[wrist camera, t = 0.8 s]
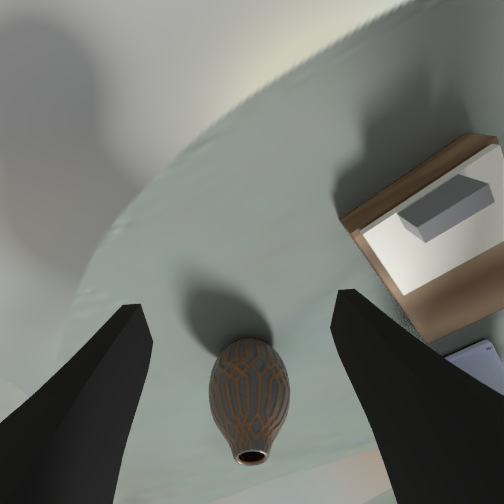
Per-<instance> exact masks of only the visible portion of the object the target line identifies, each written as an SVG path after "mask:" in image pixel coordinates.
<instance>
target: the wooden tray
mask: <svg viewBox="0 0 504 504" xmlns="http://www.w3.org/2000/svg"><path fill="white" fill-rule="evenodd" d="M491 144H497V145H499V143H498V139H497V137H495V136H487V135H479V134H471V133H465V134H464V135H462V136H461V137H459V138H458V139H456V140H455V141H453V142H452V143H450V144H449V145H448V146H446V147H445V148H443V149H442V150H440V151H439V152H437V153H436V154H435V155H433V156H432V157H430V158H429V159H427V160H426V161H424V162H423V163H422V164H420V165H419V166H417V167H416V168H414V169H413V170H411V171H410V172H409V173H407V174H406V175H404V176H403V177H401V178H400V179H398V180H397V181H396V182H394V183H393V184H391V185H390V186H388V187H387V188H385V189H384V190H382V191H381V192H380V193H378V194H377V195H375V196H374V197H372V198H371V199H369V200H368V201H367V202H365V203H364V204H362V205H361V206H359V207H358V208H356V209H355V210H354V211H352V212H351V213H349V214H348V215H346V216H345V217H343V218H342V219H341V220H340V222H341V223H342V225H343V226H344V228H345V229H346V230H347V232H348V233H349V235H350V236H351V238H352V239H353V240H354V242H355V243H356V245H357V246H358V248H359V249H360V250H361V252H362V253H363V255H364V256H365V257H366V259H367V260H368V262H369V263H370V265H371V266H372V267H373V269H374V270H375V272H376V273H377V275H378V276H379V277H380V279H381V280H382V282H383V283H384V285H385V286H386V287H387V289H388V290H389V292H390V293H391V294H392V296H393V297H394V299H395V300H396V302H397V303H398V304H399V306H400V307H401V309H402V310H403V312H404V313H405V314H406V316H407V317H408V319H409V320H410V322H411V323H412V324H413V326H414V327H415V328H416V330H417V331H418V332H419V333H420V335H421V336H422V337H423V339H424V340H425V341H426V342H427V344H429V343H431V342H433V341H435V340H437V339H439V338H442V337H444V336H446V335H448V334H450V333H452V332H454V331H456V330H458V329H460V328H463V327H465V326H467V325H469V324H471V323H473V322H475V321H477V320H479V319H482V318H484V317H486V316H488V315H490V314H492V313H494V312H496V311H498V310H501V309H503V308H504V241H503V242H501V243H499V244H497V245H496V246H494V247H492V248H490V249H488V250H486V251H485V252H483V253H481V254H479V255H477V256H475V257H474V258H472V259H470V260H468V261H466V262H464V263H463V264H461V265H459V266H457V267H455V268H453V269H452V270H450V271H448V272H446V273H444V274H442V275H441V276H439V277H437V278H435V279H433V280H431V281H430V282H428V283H426V284H424V285H422V286H421V287H419V288H417V289H415V290H413V291H411V292H410V293H408V294H406V295H403V294H402V293H401V292H400V290H399V289H398V287H397V286H396V284H395V283H394V281H393V280H392V279H391V277H390V276H389V274H388V273H387V271H386V270H385V268H384V267H383V265H382V264H381V262H380V261H379V259H378V258H377V256H376V255H375V253H374V252H373V250H372V249H371V247H370V246H369V244H368V243H367V241H366V240H365V238H364V237H363V235H362V234H361V232H360V230H362V229H363V228H365V227H366V226H368V225H369V224H371V223H372V222H374V221H375V220H377V219H378V218H380V217H381V216H383V215H384V214H386V213H387V212H389V211H391V210H392V209H394V208H395V207H397V206H398V205H400V204H401V203H403V202H404V201H406V200H407V199H409V198H410V197H412V196H413V195H415V194H416V193H418V192H419V191H421V190H422V189H424V188H425V187H427V186H428V185H430V184H431V183H433V182H434V181H436V180H438V179H439V178H441V177H442V176H444V175H445V174H447V173H448V172H450V171H451V170H453V169H454V168H456V167H457V166H459V165H460V164H462V163H463V162H465V161H466V160H468V159H469V158H471V157H472V156H474V155H475V154H477V153H478V152H480V151H481V150H483V149H484V148H486V147H488V146H489V145H491Z"/></svg>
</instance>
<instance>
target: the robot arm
mask: <svg viewBox="0 0 504 504" xmlns="http://www.w3.org/2000/svg"><path fill="white" fill-rule="evenodd" d="M330 329H331V333H332V336H333V339H334V342H335V345H336V348H337V351H338V354H339V357H340V359H341V361H342V363H343V366H344V368H345V370H346V372H347V374H348V377H349V379H350V381H351V383H352V385H353V388H354V390H355V392H356V394H357V396H358V398H359V401H360V403H361V405H362V407H363V409H364V412H365V414H366V416H367V418H368V421H369V423H370V426H371V428H372V431H373V433H374V436H375V439H376V442H377V445H378V448H379V450H380V453H381V456H382V459H383V461H384V464H385V467H386V470H387V473H388V476H389V479H390V482H391V485H392V488H393V491H394V494H395V497H396V500H397V504H504V366H503V364H502V362H501V360H500V358H499V356H498V354H497V352H496V350H495V348H494V346H493V344H492V343H491V342H490V341H489V340H483V341H481V342H478V343H476V344H474V345H472V346H469V347H467V348H465V349H463V350H461V351H458V352H456V353H454V354H452V355H449V356H447V357H445V358H444V357H442V356H441V355H439V354H438V353H436V352H435V351H434V350H432V349H431V348H429V347H428V346H427V345H425V344H424V343H422V342H421V341H420V340H418V339H417V338H416V337H414V336H413V335H412V334H410V333H409V332H408V331H406V330H405V329H404V328H403V327H401V326H400V325H399V324H397V323H396V322H395V321H394V320H392V319H391V318H390V317H389V316H387V315H386V314H385V313H384V312H382V311H381V310H380V309H379V308H378V307H376V306H375V305H374V304H373V303H371V302H370V301H369V300H368V299H367V298H365V297H364V296H363V295H362V294H360V293H359V292H358V291H356V290H355V289H346V290H338V294H337V299H336V303H335V308H334V312H333V317H332V321H331V326H330ZM152 346H153V340H152V337H151V334H150V331H149V328H148V325H147V322H146V319H145V316H144V313H143V310H142V307H141V304H129V305H122V306H121V307H120V308H119V309H118V310H117V311H116V312H115V314H114V315H113V316H112V317H111V318H110V319H109V320H108V321H107V322H106V323H105V324H104V325H103V326H102V327H101V328H100V329H99V330H98V331H97V332H96V334H95V335H94V336H93V337H92V338H91V339H90V340H89V341H88V342H87V343H86V344H85V345H84V346H83V347H82V348H81V349H80V350H79V351H78V352H77V353H76V354H75V355H74V356H73V357H72V358H71V359H70V360H69V361H68V362H67V363H66V364H65V365H64V366H63V367H62V368H61V369H60V370H59V371H58V372H57V373H56V374H55V375H54V376H52V377H51V378H50V379H49V380H48V381H47V382H46V383H45V384H44V385H43V386H42V387H41V388H40V389H39V390H38V391H37V392H35V394H33V395H32V396H31V397H30V398H29V399H28V400H26V401H25V402H24V403H23V404H22V405H21V406H20V407H18V408H17V409H16V410H15V411H14V412H13V413H11V414H10V415H9V416H8V417H7V418H5V419H4V420H3V421H2V422H1V423H0V504H113V499H114V494H115V490H116V485H117V480H118V476H119V471H120V466H121V462H122V457H123V453H124V450H125V446H126V442H127V438H128V435H129V432H130V429H131V425H132V422H133V419H134V416H135V412H136V409H137V406H138V403H139V399H140V396H141V393H142V389H143V386H144V383H145V379H146V376H147V373H148V369H149V363H150V358H151V352H152Z"/></svg>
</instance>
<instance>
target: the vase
mask: <svg viewBox="0 0 504 504" xmlns="http://www.w3.org/2000/svg"><path fill="white" fill-rule="evenodd" d="M209 402H210V408H211V412H212V416H213V419H214V421H215V423H216V425H217V427H218V428H219V430H220V432H221V433H222V435H223V436H224V438H225V439H226V440H227V442H228V444H229V446H230V448H231V450H232V453H233V457H234V459H235V461H236V462H237V463H239V464H241V465H246V466H254V465H259V464H262V463H264V462H265V461H266V460H267V459H268V457H269V454H270V450H271V447H272V444H273V441H274V440H275V438H276V436H277V434H278V433H279V431H280V429H281V427H282V425H283V423H284V421H285V419H286V416H287V413H288V409H289V402H290V385H289V379H288V374H287V371H286V368H285V365H284V363H283V361H282V359H281V357H280V356H279V354H278V353H277V352H276V351H275V349H273V348H272V347H271V346H270V345H268V344H267V343H265V342H263V341H260V340H257V339H252V338H247V339H241V340H238V341H236V342H234V343H232V344H230V345H229V346H227V347H226V348H225V349H224V350H223V351H222V352H221V354H220V355H219V357H218V358H217V360H216V362H215V364H214V367H213V369H212V372H211V377H210V383H209Z"/></svg>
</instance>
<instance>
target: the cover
mask: <svg viewBox="0 0 504 504" xmlns="http://www.w3.org/2000/svg"><path fill="white" fill-rule="evenodd" d="M360 232H361V234H362V235H363V237H364V238H365V240H366V241H367V243H368V244H369V246H370V247H371V249H372V250H373V252H374V253H375V255H376V256H377V258H378V259H379V261H380V262H381V264H382V265H383V267H384V268H385V270H386V271H387V273H388V274H389V276H390V277H391V279H392V280H393V281H394V283H395V284H396V286H397V287H398V289H399V290H400V292H401V293H402V294H403V295H406V294H408V293H410V292H411V291H413V290H415V289H417V288H419V287H421V286H422V285H424V284H426V283H428V282H430V281H431V280H433V279H435V278H437V277H439V276H441V275H442V274H444V273H446V272H448V271H450V270H452V269H453V268H455V267H457V266H459V265H461V264H463V263H464V262H466V261H468V260H470V259H472V258H474V257H475V256H477V255H479V254H481V253H483V252H485V251H486V250H488V249H490V248H492V247H494V246H496V245H497V244H499V243H501V242H503V241H504V157H503V154H502V150H501V147H500V145H497V144H491V145H489V146H488V147H486V148H484V149H483V150H481V151H480V152H478V153H477V154H475V155H474V156H472V157H471V158H469V159H468V160H466V161H465V162H463V163H462V164H460V165H459V166H457V167H456V168H454V169H453V170H451V171H450V172H448V173H447V174H445V175H444V176H442V177H441V178H439V179H438V180H436V181H434V182H433V183H431V184H430V185H428V186H427V187H425V188H424V189H422V190H421V191H419V192H418V193H416V194H415V195H413V196H412V197H410V198H409V199H407V200H406V201H404V202H403V203H401V204H400V205H398V206H397V207H395V208H394V209H392V210H391V211H389V212H387V213H386V214H384V215H383V216H381V217H380V218H378V219H377V220H375V221H374V222H372V223H371V224H369V225H368V226H366V227H365V228H363V229H362V230H360Z"/></svg>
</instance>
